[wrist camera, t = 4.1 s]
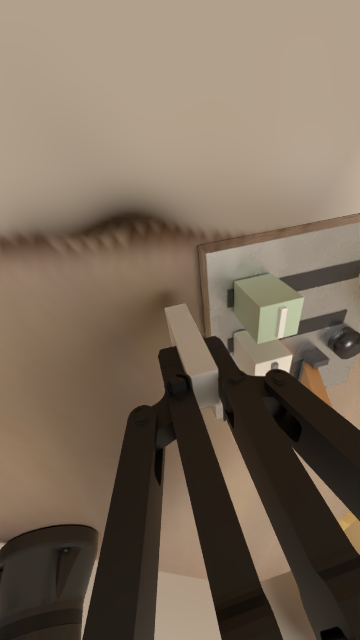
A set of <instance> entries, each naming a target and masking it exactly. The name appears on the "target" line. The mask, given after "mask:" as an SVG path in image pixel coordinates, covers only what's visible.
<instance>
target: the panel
mask: <svg viewBox="0 0 360 640" xmlns="http://www.w3.org/2000/svg"><path fill="white" fill-rule="evenodd" d="M198 252H199V265H200V277H201V289H202V302H203V314H204V326H205V338H208V337H212V336H217V337H218V338H220V339H221V340H222V342H223V343H224V345H225V347H226V348H227V350H228V352H229V353H230V355H231V357H232V358H233V360H234V362H235V363H236V361H235V359H234V333H236V332H240V331H244V330H246V329H245V328H244V326H243V325H242V324H241V323H240V321H239V320H238V319H237V318H236V316H235V315H234V281H238V280H242V279H247V278H251V277H256V276H260V275H265V274H269V273H271V274H273V275H274V276H275V277H277V278H278V279H280V280H281V281H282V282H284V283H285V284H287V285H288V286H289V287H291V288H292V289H294V290H295V291H296V292H298V293H299V294H301V295H302V296H303V297H304V301H303V306H302V311H301V316H300V321H299V326H298V331H297V334H295V335H291V336H287V337H283V338H280V339H279V340H280V341H281V342H282V344H283V345H284V346H285V347H286V348H287V349H288V350H289V351H290V352H291V353H292V354H293V356H292V361H291V366H290V371H289V374H291V375H292V376H293V377H294V378H296V379H297V380H298V379H299V375H300V370H301V366H302V362H303V360H306V361H307V363H308V364H309V365H310V366H311V367H312V368H313V369H314V368H318V370H319V373H320V375H321V378H322V381H323V384H324V386H325V388H327V387H331V386H334V385H338V384H341V383H344V382H346V380H347V377H348V375H349V373H350V370H351V368H352V365H353V363H354V360H355V358H356V356H357V354H358V353H360V213H358V214H353V215H348V216H343V217H338V218H333V219H328V220H323V221H318V222H313V223H308V224H303V225H298V226H293V227H288V228H283V229H278V230H273V231H268V232H263V233H258V234H253V235H248V236H243V237H238V238H233V239H228V240H223V241H218V242H213V243H208V244H203V245H198ZM236 365H237V367H238V368H239V366H238V364H237V363H236ZM239 369H240V368H239ZM240 370H241V369H240ZM211 407H212V409H213V412H214V415H215V417H216V420H217V419H220V418H223V405H222V403H221V400H220V404H218V405H214V406H211Z"/></svg>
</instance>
